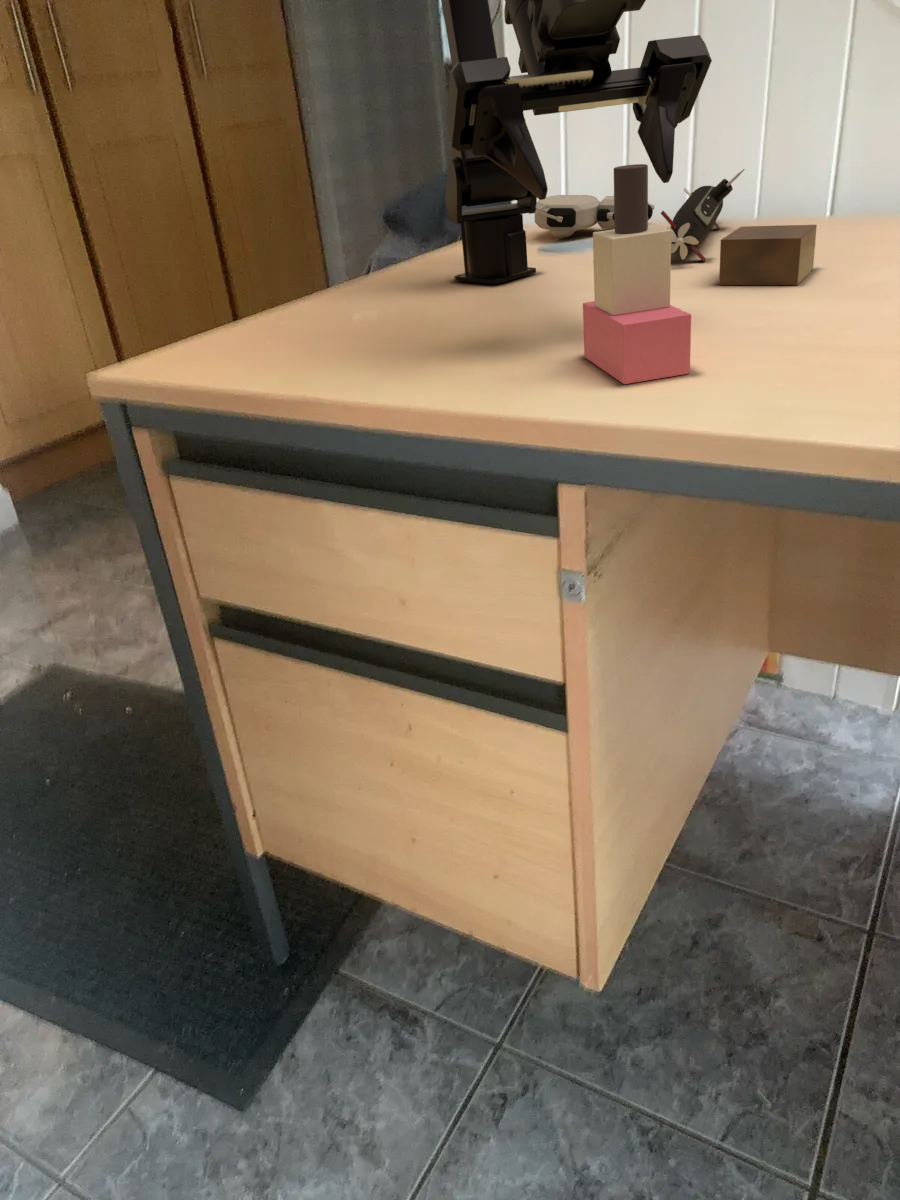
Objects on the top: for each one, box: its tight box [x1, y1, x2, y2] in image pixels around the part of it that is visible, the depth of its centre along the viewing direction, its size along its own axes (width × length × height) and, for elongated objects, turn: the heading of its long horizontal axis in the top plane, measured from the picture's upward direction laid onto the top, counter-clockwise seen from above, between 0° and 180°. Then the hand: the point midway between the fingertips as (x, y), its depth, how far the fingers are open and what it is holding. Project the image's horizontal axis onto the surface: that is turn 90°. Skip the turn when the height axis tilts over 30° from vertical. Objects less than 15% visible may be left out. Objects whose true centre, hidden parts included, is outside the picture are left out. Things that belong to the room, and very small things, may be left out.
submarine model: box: [660, 168, 745, 262], centre depth 106 cm, size 31×7×10 cm
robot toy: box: [534, 194, 655, 239], centre depth 120 cm, size 12×4×15 cm
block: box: [718, 224, 818, 286], centre depth 87 cm, size 7×7×4 cm
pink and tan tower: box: [582, 163, 692, 385], centre depth 64 cm, size 8×5×13 cm, turn 12°
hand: (606, 186), depth 66 cm, fingers open, 9 cm apart
